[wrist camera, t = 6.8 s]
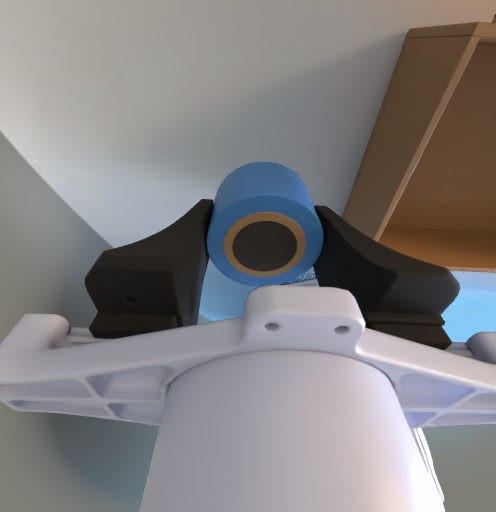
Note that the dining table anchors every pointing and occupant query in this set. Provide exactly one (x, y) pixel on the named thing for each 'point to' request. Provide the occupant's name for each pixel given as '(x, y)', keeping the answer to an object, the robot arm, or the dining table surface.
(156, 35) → the dining table surface
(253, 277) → the tape roll
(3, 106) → the dining table surface
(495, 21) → the flap
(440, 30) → the carton
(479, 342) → the robot arm
